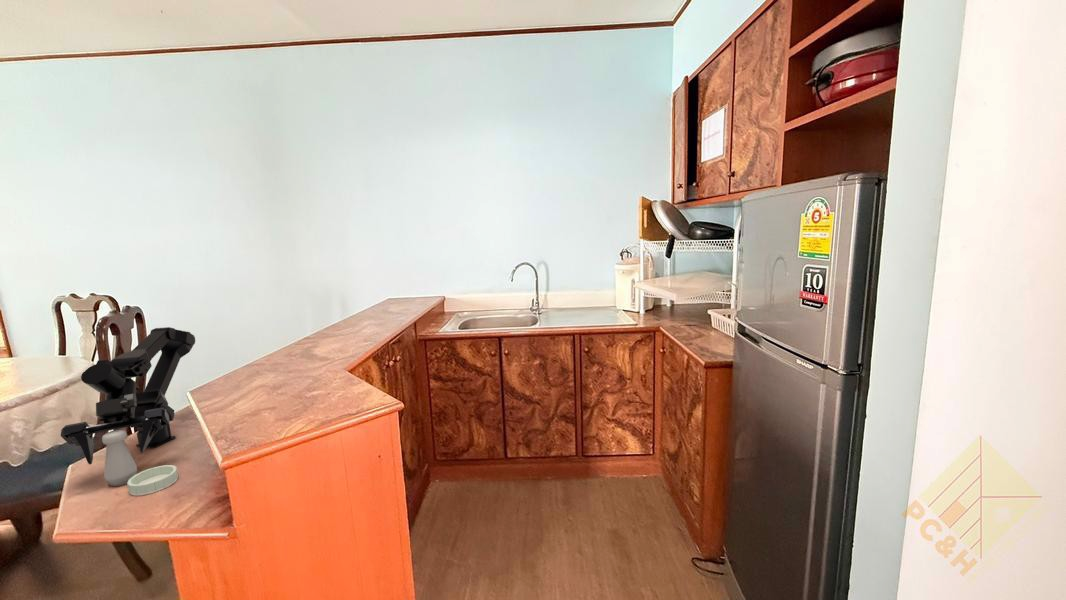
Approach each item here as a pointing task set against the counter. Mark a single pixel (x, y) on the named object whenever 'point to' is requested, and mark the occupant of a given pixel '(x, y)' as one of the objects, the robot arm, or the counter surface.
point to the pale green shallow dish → (152, 480)
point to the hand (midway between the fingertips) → (116, 457)
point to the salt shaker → (118, 458)
